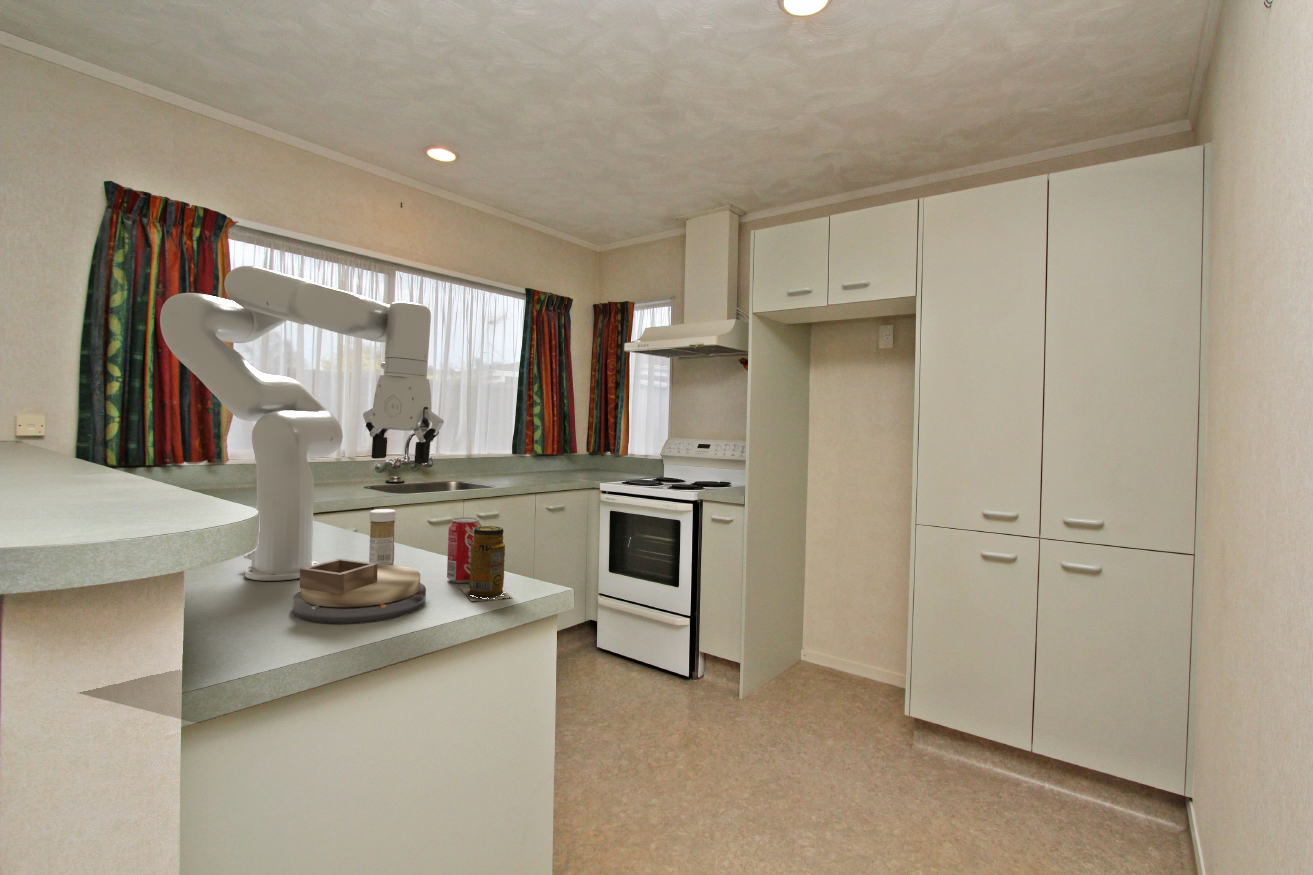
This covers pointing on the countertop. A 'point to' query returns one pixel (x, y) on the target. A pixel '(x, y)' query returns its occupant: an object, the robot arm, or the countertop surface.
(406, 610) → the dial plate
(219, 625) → the countertop surface
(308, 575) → the dial
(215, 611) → the countertop surface
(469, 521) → the beverage can
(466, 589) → the condiment
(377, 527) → the sprinkles bottle
